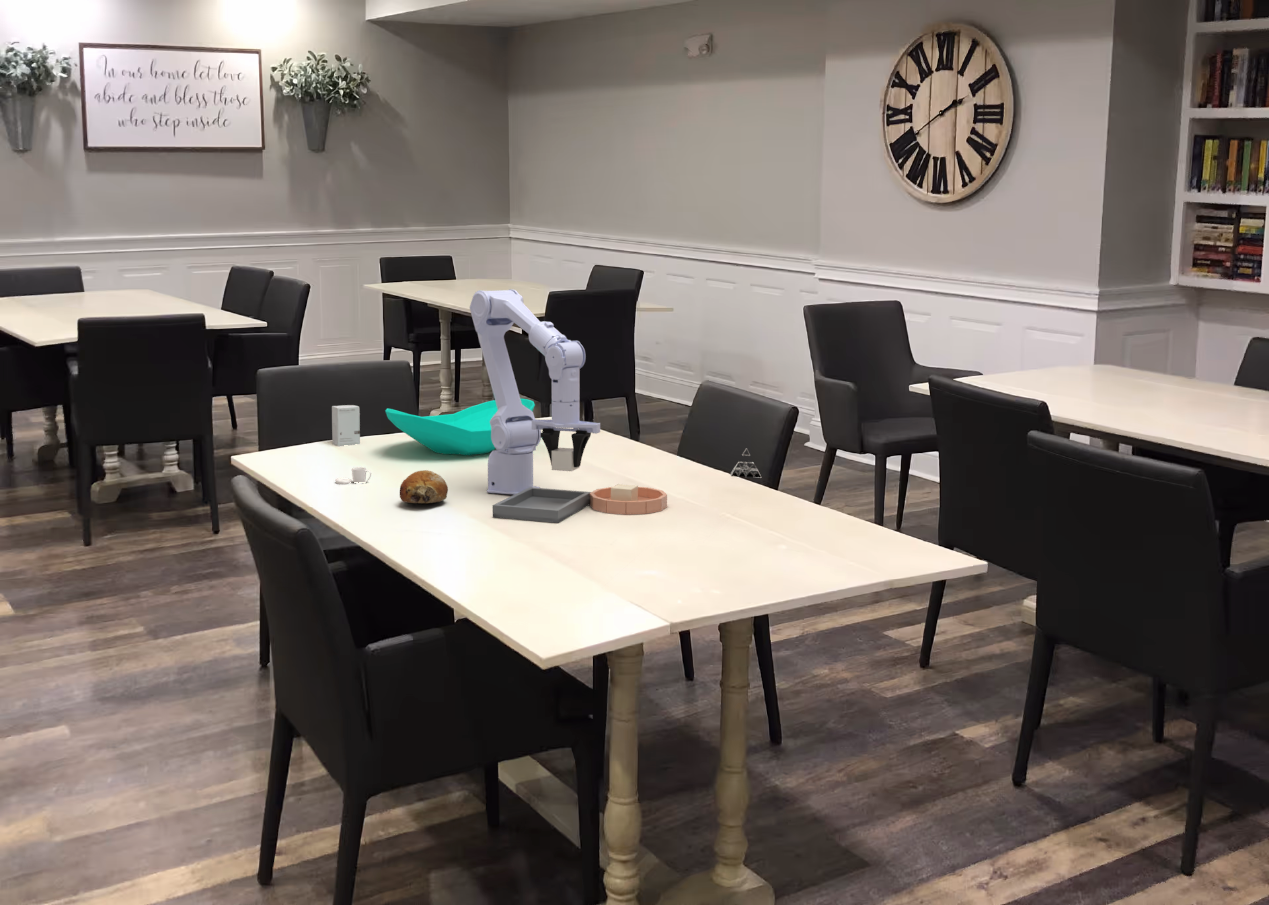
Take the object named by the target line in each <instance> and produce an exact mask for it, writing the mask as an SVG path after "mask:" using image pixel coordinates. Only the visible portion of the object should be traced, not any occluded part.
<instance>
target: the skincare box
mask: <svg viewBox="0 0 1269 905" xmlns="http://www.w3.org/2000/svg"><path fill="white" fill-rule="evenodd" d="M360 412H361V411H360V406H358V405H354V404H347V405H345V404H344V405H343V404H342V405H332V406H331V430H332V431H331V432H332V433H331V434H332V439H331V440H332V445H334V446H336V447H345V446H344V445H348V446H354V445H355V444H357V445H360V444H361V433H360V432H361V430H360V428H361V427H360V426H361V424H360V423H361V422H360V420H361V419H360V415H361V413H360ZM355 446H356V445H355Z"/></svg>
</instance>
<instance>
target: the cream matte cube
mask: <svg viewBox="0 0 1269 905" xmlns="http://www.w3.org/2000/svg"><path fill="white" fill-rule="evenodd" d="M611 487H612V488H611V500H617V501H638V487H639V485H636V484H623V483H622V484H619V483H618V484H616V485H614V486H611Z"/></svg>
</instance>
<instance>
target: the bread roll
mask: <svg viewBox="0 0 1269 905" xmlns="http://www.w3.org/2000/svg"><path fill="white" fill-rule="evenodd" d="M448 491H449V487H448V484H447V482H446V480H445V478H443V477H442V476H441V475H440V474H438V473H436V472H434V471H431V470H429V469H428V470H427V469H426V470H417V471H414V472H412V473H410V474H409V475H408V476H407V477H406V478H405V479H403V481H402V482H401V484H400V488H399V498H400V500H401V501H402V502H403V503H409V504H433V503H441V502H442V501H444V500H446V499H447V496H448Z"/></svg>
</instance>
